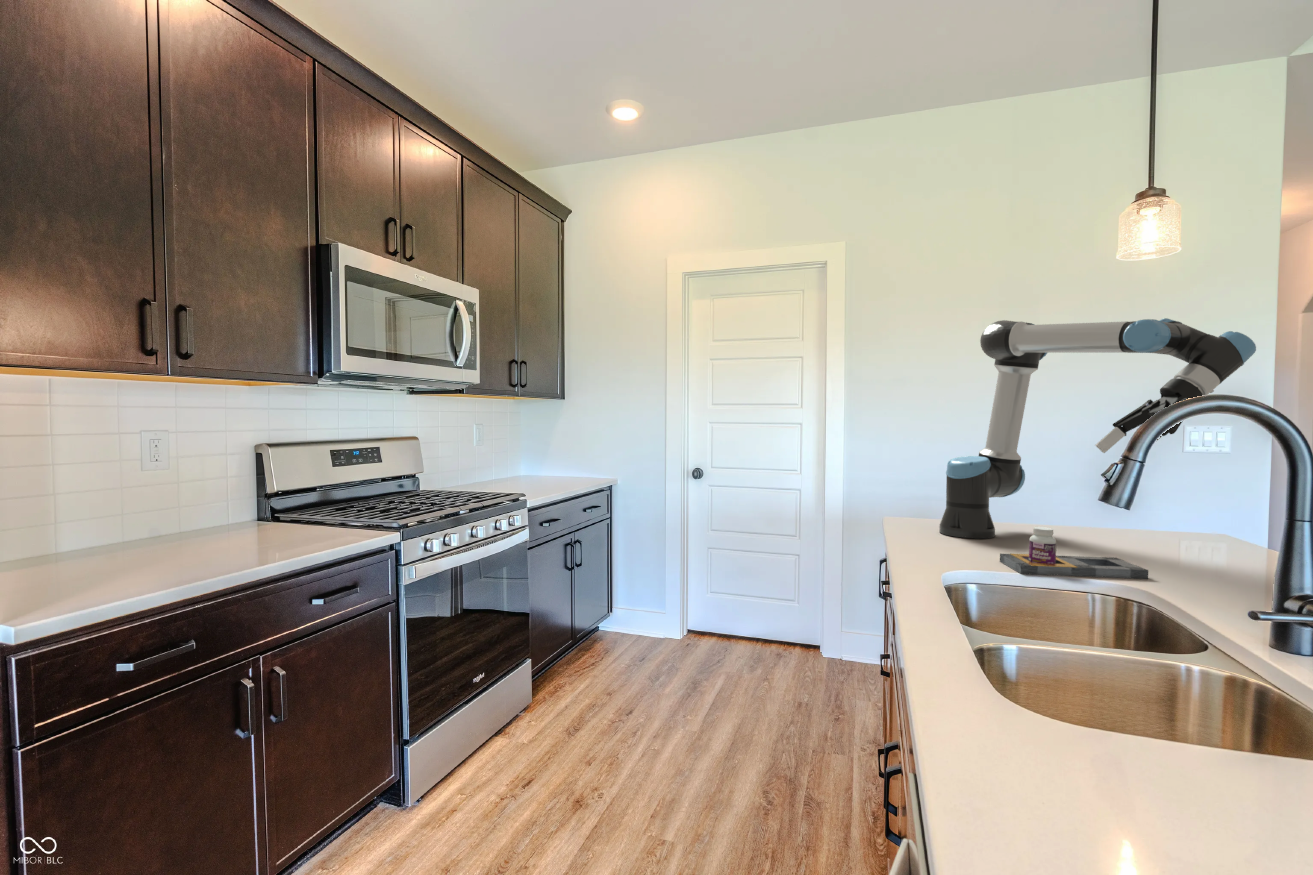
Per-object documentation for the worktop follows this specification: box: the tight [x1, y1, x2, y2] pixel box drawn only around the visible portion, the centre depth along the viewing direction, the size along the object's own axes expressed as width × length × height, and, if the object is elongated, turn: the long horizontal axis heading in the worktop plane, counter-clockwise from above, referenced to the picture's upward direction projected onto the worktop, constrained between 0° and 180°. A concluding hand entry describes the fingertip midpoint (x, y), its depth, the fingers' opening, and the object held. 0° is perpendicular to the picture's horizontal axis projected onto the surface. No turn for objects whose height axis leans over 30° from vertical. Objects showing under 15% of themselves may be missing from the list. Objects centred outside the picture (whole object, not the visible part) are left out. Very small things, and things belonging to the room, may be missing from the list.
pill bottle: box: [1028, 526, 1057, 564], centre depth 143 cm, size 5×5×10 cm
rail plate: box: [999, 553, 1149, 580], centre depth 142 cm, size 12×26×2 cm, turn 81°
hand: (1115, 450), depth 146 cm, fingers open, 13 cm apart
